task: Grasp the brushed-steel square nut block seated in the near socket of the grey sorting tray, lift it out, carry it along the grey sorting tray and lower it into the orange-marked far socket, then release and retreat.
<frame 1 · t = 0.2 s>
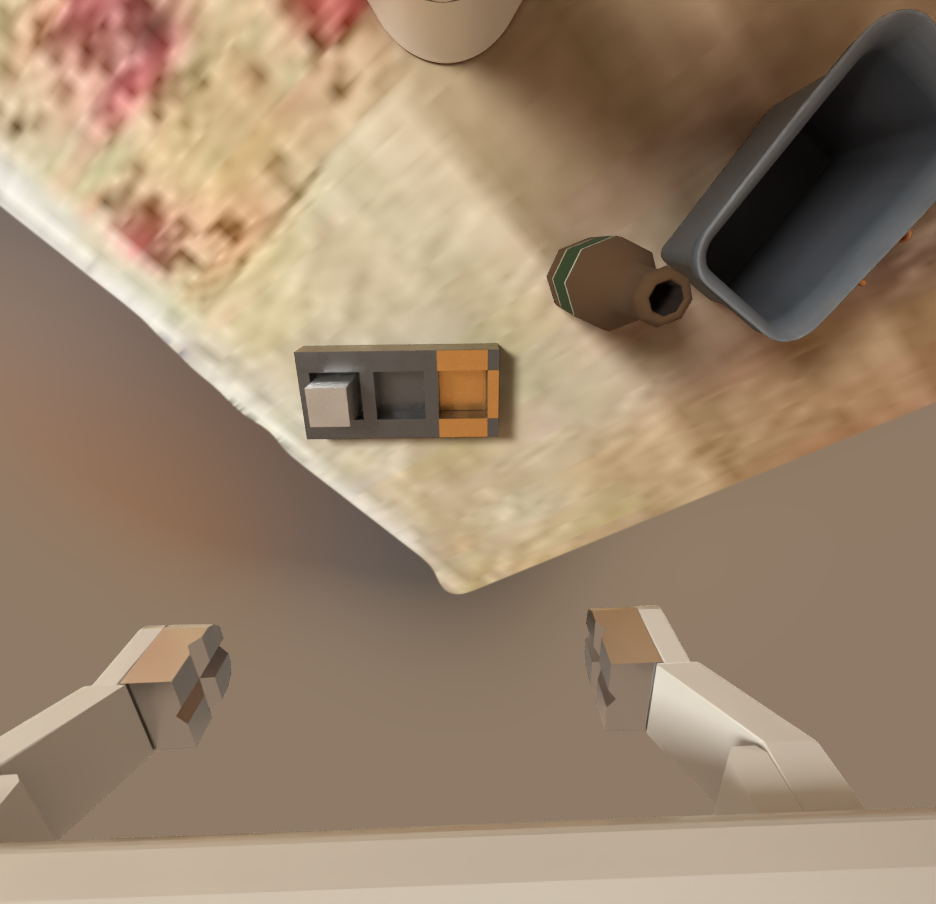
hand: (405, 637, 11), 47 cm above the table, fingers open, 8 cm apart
storage bin: (747, 213, 51), on the table
grey sorting tray: (403, 387, 57), on the table
beer bottle: (580, 277, 53), on the table
nut block: (342, 389, 57), resting on grey sorting tray
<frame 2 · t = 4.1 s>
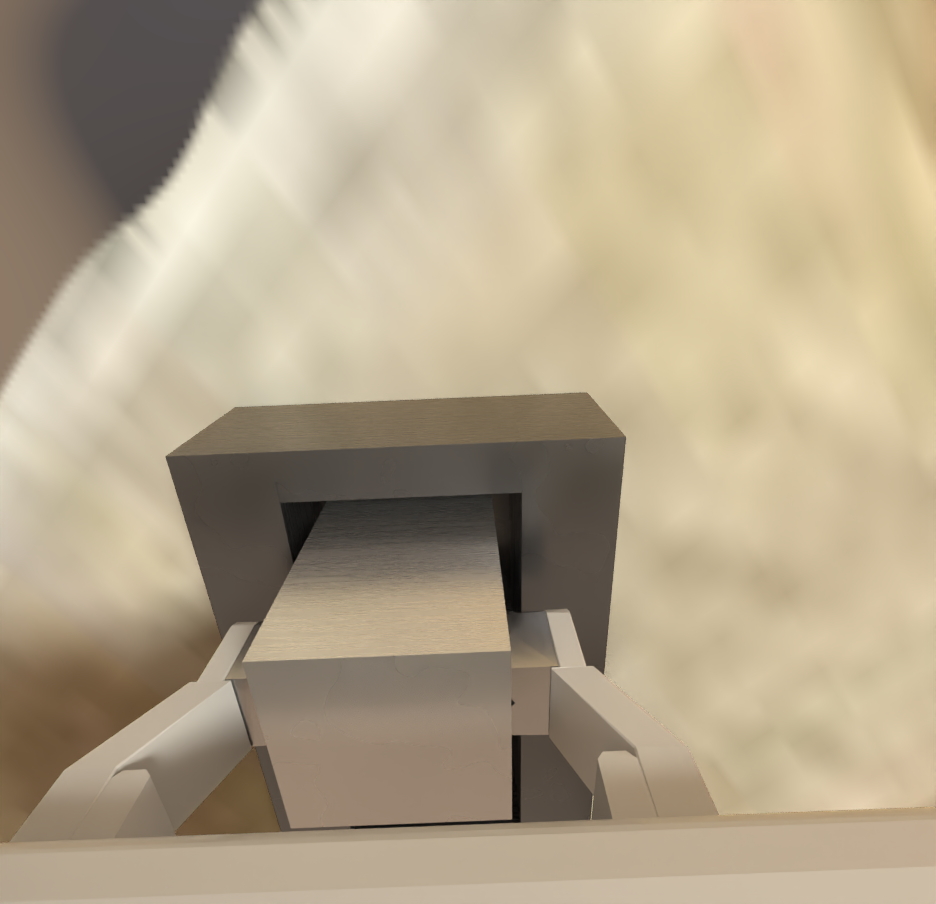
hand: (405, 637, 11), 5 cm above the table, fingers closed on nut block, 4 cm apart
grey sorting tray: (436, 684, 18), on the table
nut block: (420, 530, 15), point 1 cm above the table, touching gripper, grey sorting tray
when the fingers open (6 cm above the table, at t = 8.8 s): nut block stays where it is, resting on grey sorting tray.
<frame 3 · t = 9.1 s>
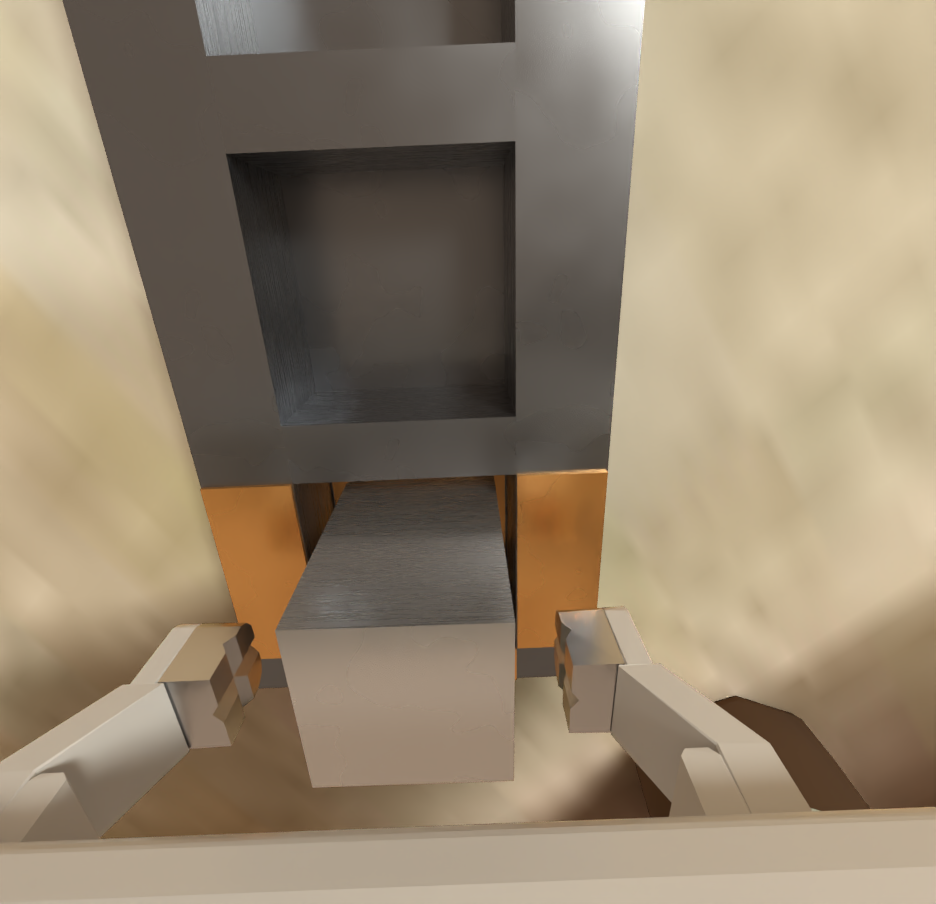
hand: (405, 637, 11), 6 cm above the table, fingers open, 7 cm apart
grey sorting tray: (403, 286, 13), on the table
beer bottle: (716, 751, 21), on the table
nut block: (427, 521, 16), point 1 cm above the table, touching grey sorting tray
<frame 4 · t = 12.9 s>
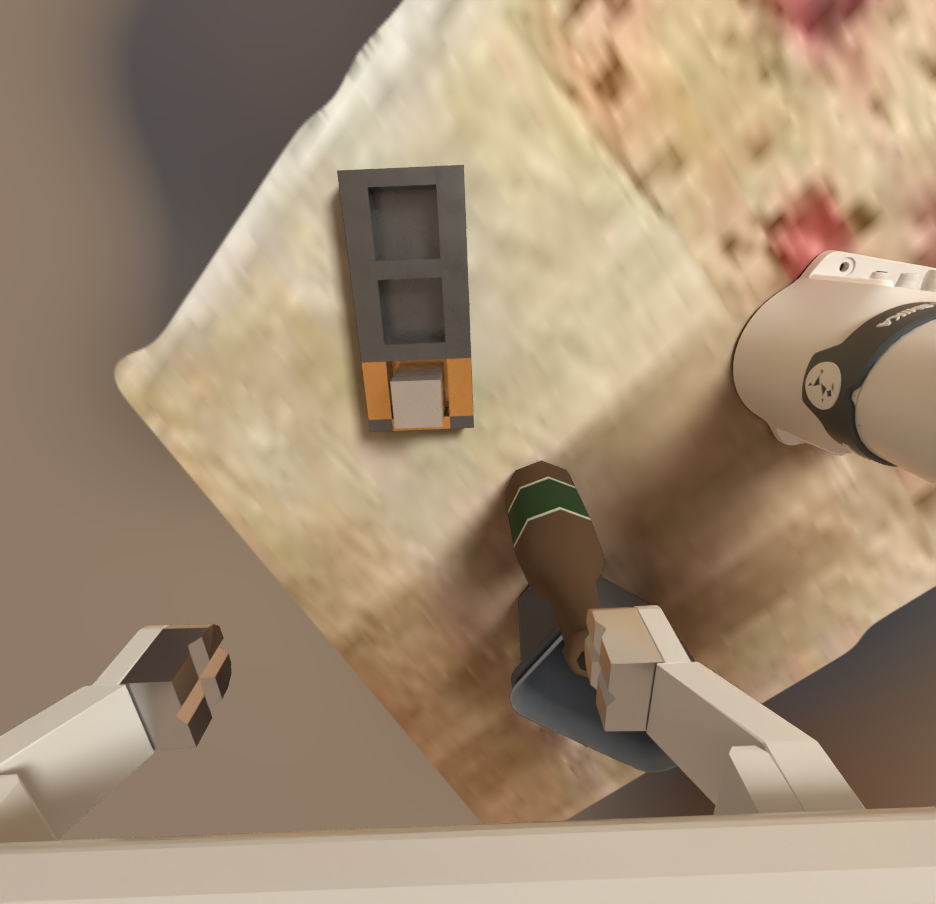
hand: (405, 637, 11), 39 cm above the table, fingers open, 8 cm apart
storage bin: (585, 609, 60), on the table
grey sorting tray: (415, 307, 46), on the table
beer bottle: (539, 489, 54), on the table
nut block: (423, 383, 48), point 1 cm above the table, touching grey sorting tray
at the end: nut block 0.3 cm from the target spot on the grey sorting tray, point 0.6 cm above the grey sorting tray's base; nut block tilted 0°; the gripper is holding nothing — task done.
